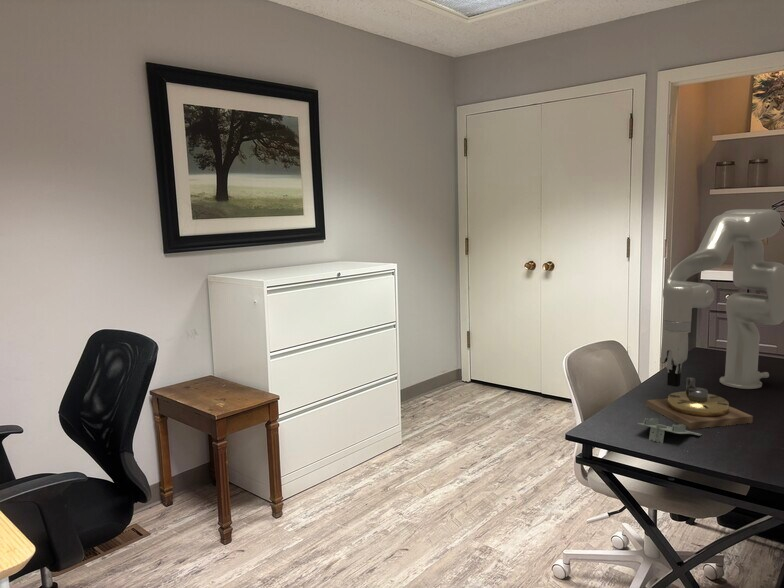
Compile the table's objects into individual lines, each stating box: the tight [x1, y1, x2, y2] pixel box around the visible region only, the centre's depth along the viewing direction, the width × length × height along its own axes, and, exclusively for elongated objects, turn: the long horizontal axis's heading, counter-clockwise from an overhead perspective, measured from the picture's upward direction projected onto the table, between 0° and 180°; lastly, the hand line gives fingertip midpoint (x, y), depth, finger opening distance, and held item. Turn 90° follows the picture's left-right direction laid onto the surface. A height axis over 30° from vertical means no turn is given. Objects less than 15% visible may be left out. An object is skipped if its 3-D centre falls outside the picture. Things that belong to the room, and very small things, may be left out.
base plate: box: [645, 397, 754, 430], centre depth 178 cm, size 20×20×2 cm
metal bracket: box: [636, 417, 703, 444], centre depth 163 cm, size 14×6×15 cm
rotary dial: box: [667, 376, 730, 416], centre depth 177 cm, size 16×16×7 cm
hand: (673, 385), depth 181 cm, fingers closed
